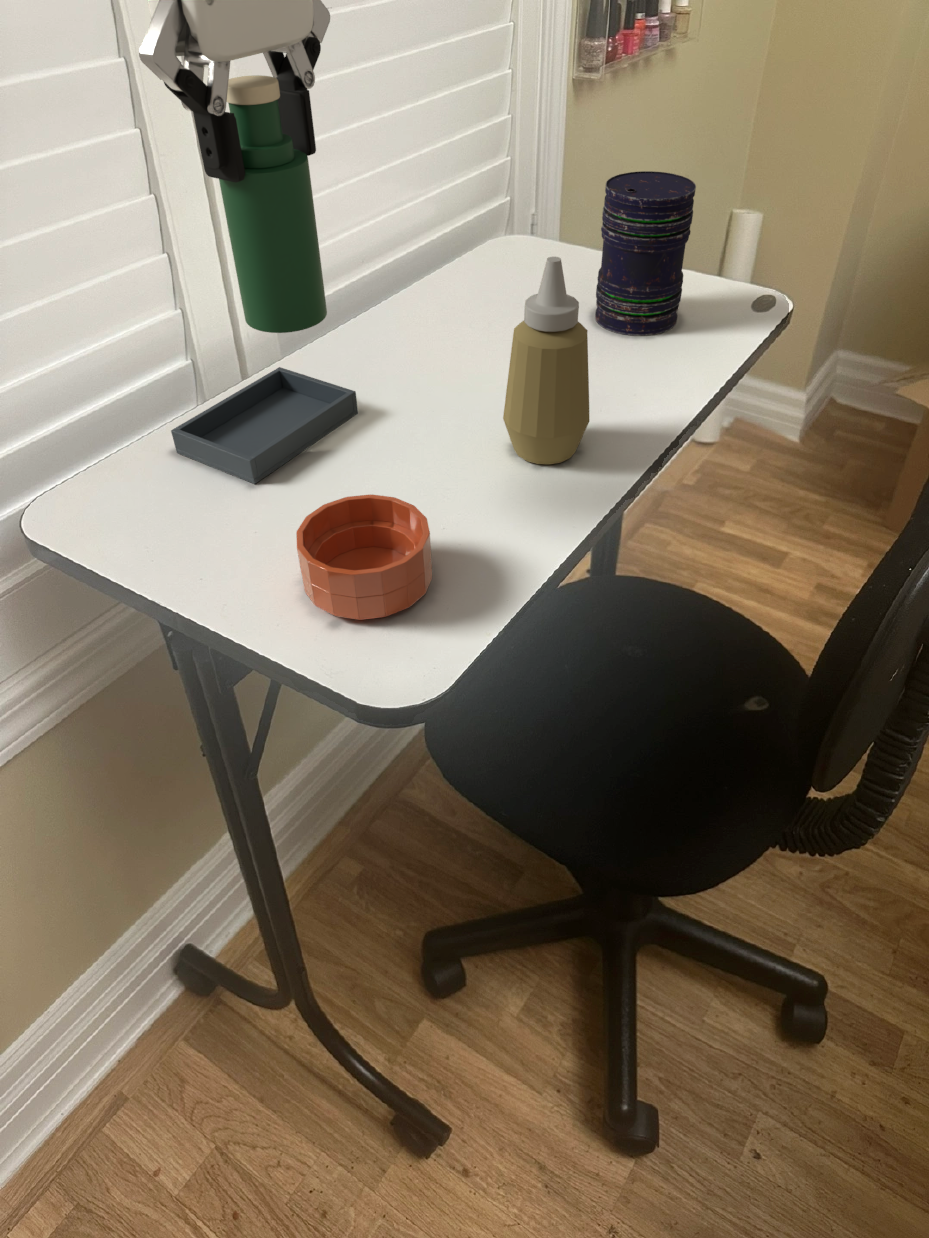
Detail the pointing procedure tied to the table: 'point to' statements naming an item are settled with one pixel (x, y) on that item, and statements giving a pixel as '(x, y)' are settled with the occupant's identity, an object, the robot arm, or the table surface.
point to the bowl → (365, 556)
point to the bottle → (272, 216)
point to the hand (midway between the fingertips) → (262, 162)
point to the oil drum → (643, 251)
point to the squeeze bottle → (548, 374)
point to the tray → (265, 424)
